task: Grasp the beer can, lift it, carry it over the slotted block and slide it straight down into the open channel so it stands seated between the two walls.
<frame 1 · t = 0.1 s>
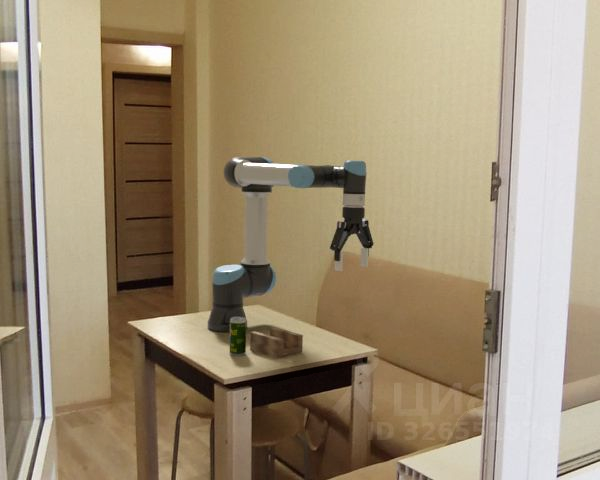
hand: (351, 268, 234), 28 cm above the table, fingers open, 13 cm apart
beer can: (237, 354, 228), on the table
slot block: (276, 350, 232), on the table
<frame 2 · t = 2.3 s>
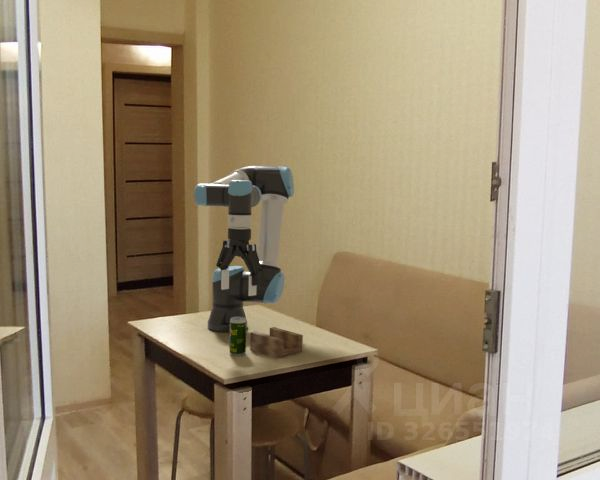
hand: (238, 292, 225), 21 cm above the table, fingers open, 13 cm apart
nothing on the table moved.
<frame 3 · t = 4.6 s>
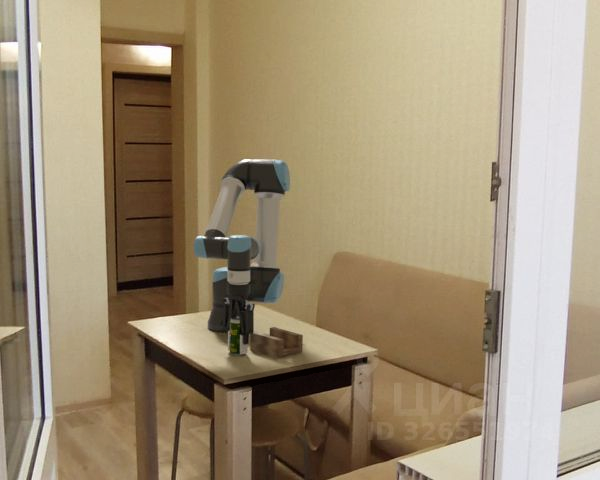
hand: (237, 351, 228), 1 cm above the table, fingers closed on beer can, 5 cm apart
beer can: (237, 354, 228), on the table, touching gripper
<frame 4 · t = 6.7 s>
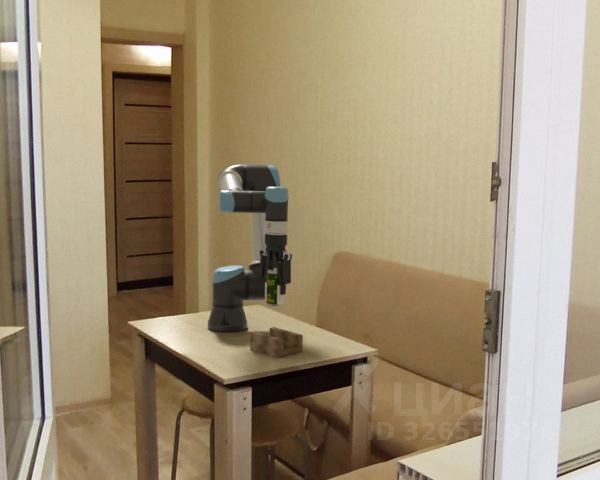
hand: (274, 302, 230), 17 cm above the table, fingers closed on beer can, 5 cm apart
beer can: (274, 305, 230), point 16 cm above the table, touching gripper
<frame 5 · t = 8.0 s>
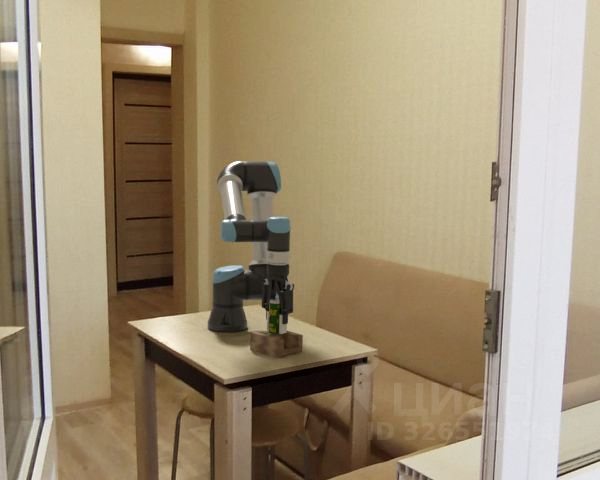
hand: (276, 331, 231), 7 cm above the table, fingers closed on beer can, 5 cm apart
beer can: (276, 334, 231), point 6 cm above the table, touching gripper
when the fingers open (3 cm above the table, at t = 9.0 s): beer can drops 1 cm, resting on slot block.
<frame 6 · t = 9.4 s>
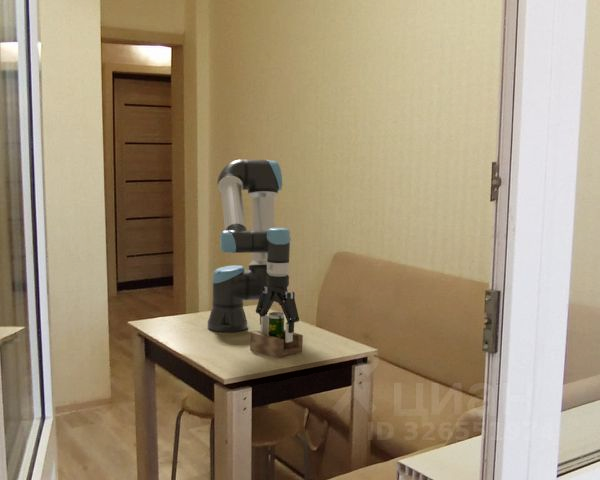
hand: (276, 338, 232), 4 cm above the table, fingers open, 11 cm apart
beer can: (276, 348, 232), point 1 cm above the table, touching slot block
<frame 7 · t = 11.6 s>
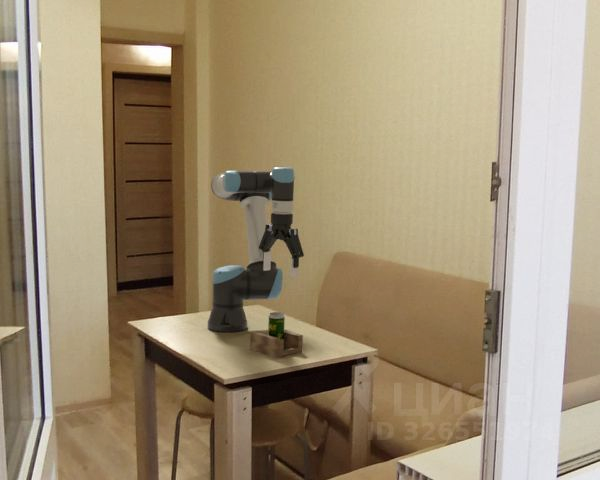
hand: (279, 273, 238), 25 cm above the table, fingers open, 13 cm apart
nothing on the table moved.
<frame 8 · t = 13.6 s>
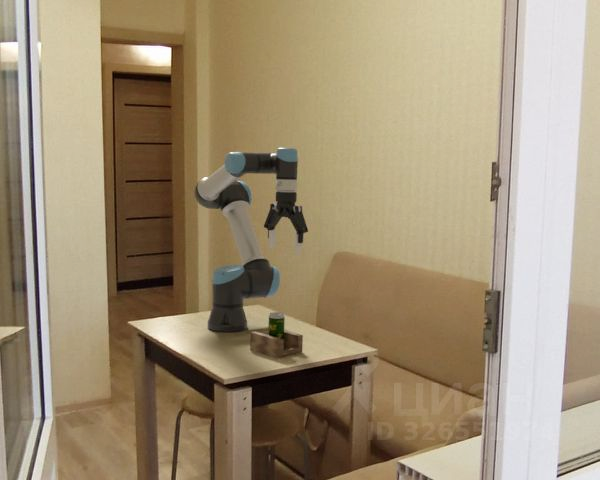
hand: (284, 250, 249), 32 cm above the table, fingers open, 13 cm apart
nothing on the table moved.
at the end: beer can inside the target area on the slot block (0.1 cm from its centre), point 0.6 cm above the slot block's base; beer can tilted 0°; the gripper is holding nothing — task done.
